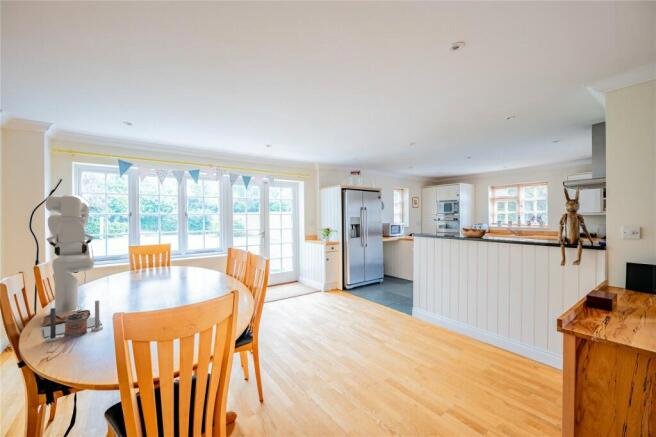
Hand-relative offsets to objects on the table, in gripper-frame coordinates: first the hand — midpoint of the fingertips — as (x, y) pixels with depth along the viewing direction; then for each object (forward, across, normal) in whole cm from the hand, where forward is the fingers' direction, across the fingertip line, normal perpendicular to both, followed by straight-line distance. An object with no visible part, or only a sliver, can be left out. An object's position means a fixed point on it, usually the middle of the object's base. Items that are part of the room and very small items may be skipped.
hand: (71, 254), depth 136 cm
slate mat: (+36, 0, +4) cm, 36 cm away
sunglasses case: (+36, 0, -9) cm, 37 cm away
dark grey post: (+36, +10, +14) cm, 40 cm away
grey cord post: (+36, -5, +17) cm, 40 cm away
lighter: (+36, +2, +16) cm, 40 cm away
